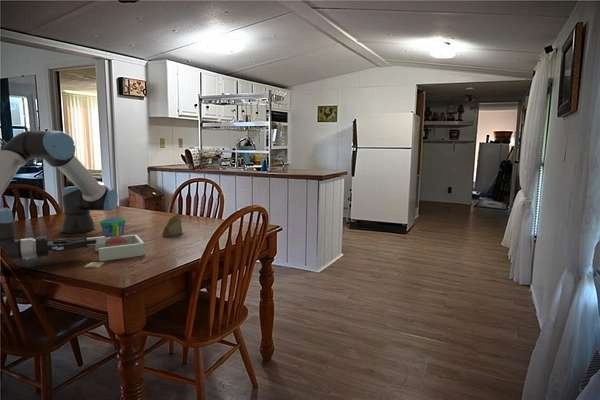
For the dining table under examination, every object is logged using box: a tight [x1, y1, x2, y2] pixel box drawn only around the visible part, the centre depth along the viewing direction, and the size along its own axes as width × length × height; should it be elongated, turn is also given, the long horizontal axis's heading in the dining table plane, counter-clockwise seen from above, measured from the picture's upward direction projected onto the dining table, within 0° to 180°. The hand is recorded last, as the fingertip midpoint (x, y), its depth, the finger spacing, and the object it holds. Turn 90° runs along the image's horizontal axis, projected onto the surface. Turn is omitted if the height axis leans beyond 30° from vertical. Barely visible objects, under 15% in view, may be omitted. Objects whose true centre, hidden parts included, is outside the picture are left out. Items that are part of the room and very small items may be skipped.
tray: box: [94, 234, 146, 262], centre depth 165 cm, size 17×17×5 cm
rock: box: [161, 214, 183, 237], centre depth 197 cm, size 11×9×10 cm
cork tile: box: [83, 261, 105, 269], centre depth 148 cm, size 5×5×1 cm
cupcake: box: [105, 226, 128, 247], centre depth 164 cm, size 9×8×12 cm
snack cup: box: [99, 217, 127, 238], centre depth 182 cm, size 16×10×10 cm
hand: (104, 239), depth 161 cm, fingers closed
